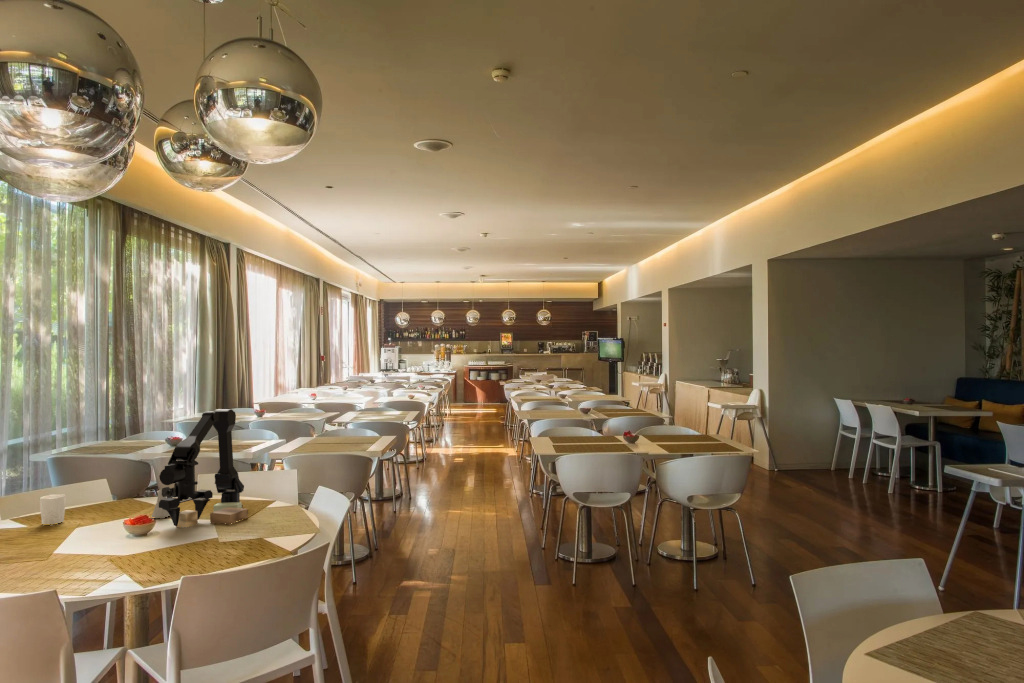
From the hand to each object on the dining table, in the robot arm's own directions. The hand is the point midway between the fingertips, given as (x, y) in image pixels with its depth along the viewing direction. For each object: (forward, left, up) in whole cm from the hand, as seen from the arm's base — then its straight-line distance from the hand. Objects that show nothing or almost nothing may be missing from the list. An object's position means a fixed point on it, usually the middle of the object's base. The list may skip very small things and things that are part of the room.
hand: (186, 522), depth 240 cm
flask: (-6, -20, -1) cm, 21 cm away
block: (-18, +1, -1) cm, 18 cm away
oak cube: (0, 0, -1) cm, 1 cm away
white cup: (+15, -51, -1) cm, 53 cm away
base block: (-10, +10, -1) cm, 14 cm away
